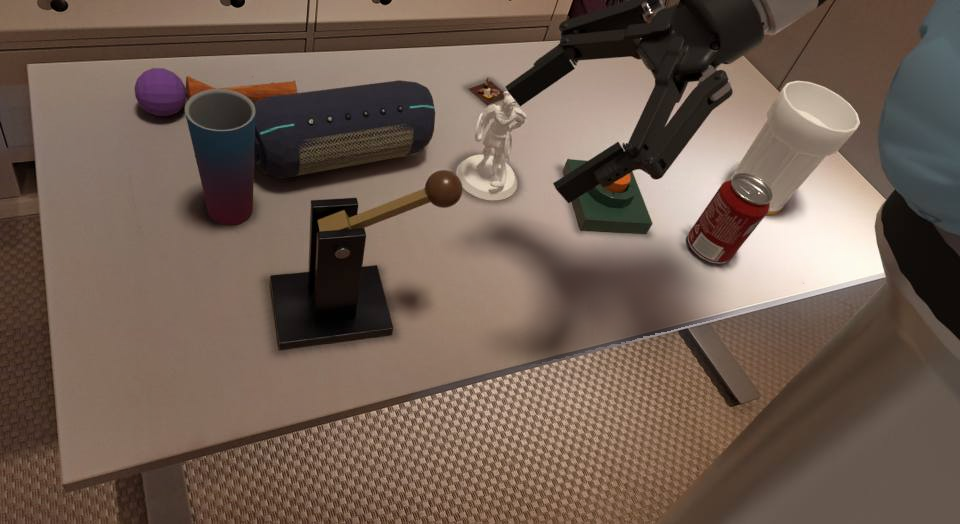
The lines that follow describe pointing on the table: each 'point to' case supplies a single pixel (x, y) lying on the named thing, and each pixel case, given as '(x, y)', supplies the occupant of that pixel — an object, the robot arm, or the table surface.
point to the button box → (610, 207)
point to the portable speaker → (341, 127)
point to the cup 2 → (798, 138)
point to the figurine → (492, 172)
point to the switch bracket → (331, 287)
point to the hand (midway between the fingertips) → (534, 142)
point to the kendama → (191, 91)
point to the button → (619, 184)
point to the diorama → (488, 92)
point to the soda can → (730, 218)
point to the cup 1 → (224, 151)
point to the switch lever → (401, 203)
